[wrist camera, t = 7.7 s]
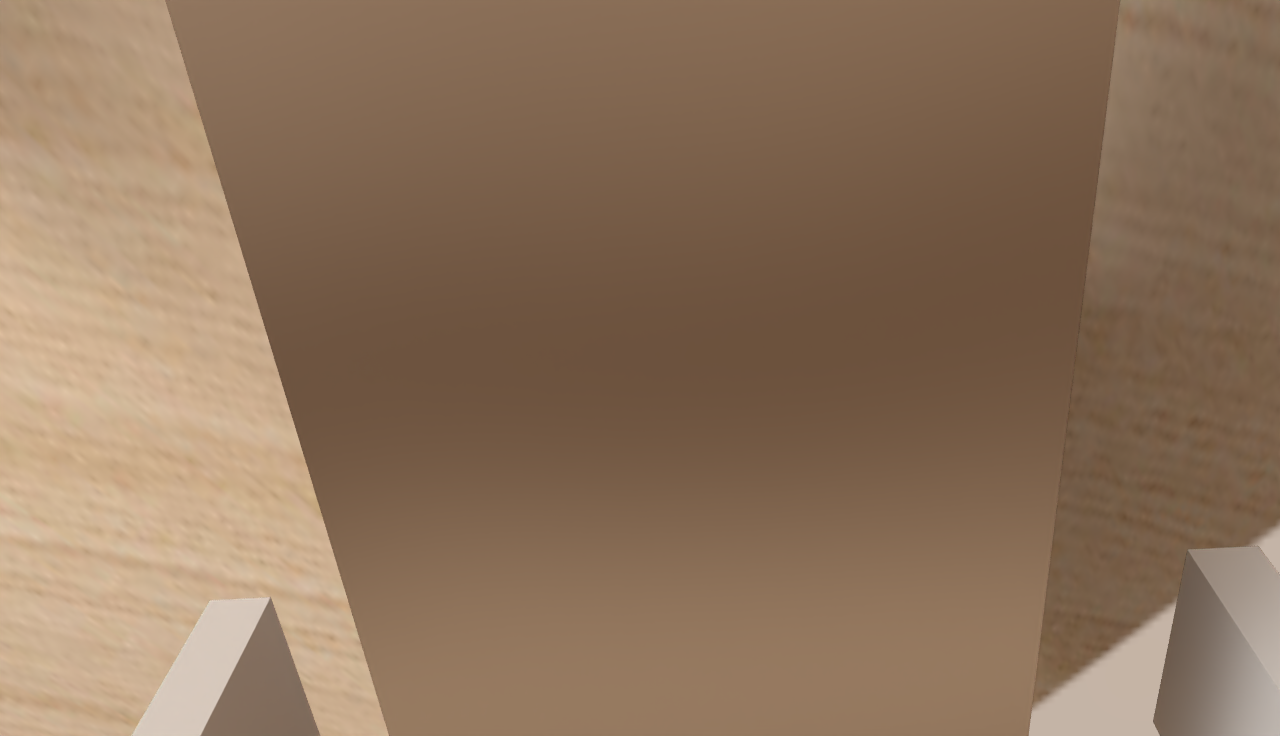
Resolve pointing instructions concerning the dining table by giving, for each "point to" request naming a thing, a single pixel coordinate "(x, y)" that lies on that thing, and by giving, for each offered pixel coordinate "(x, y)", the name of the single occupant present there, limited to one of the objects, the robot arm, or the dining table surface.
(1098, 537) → the dining table surface
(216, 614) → the robot arm
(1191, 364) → the dining table surface
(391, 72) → the bar
